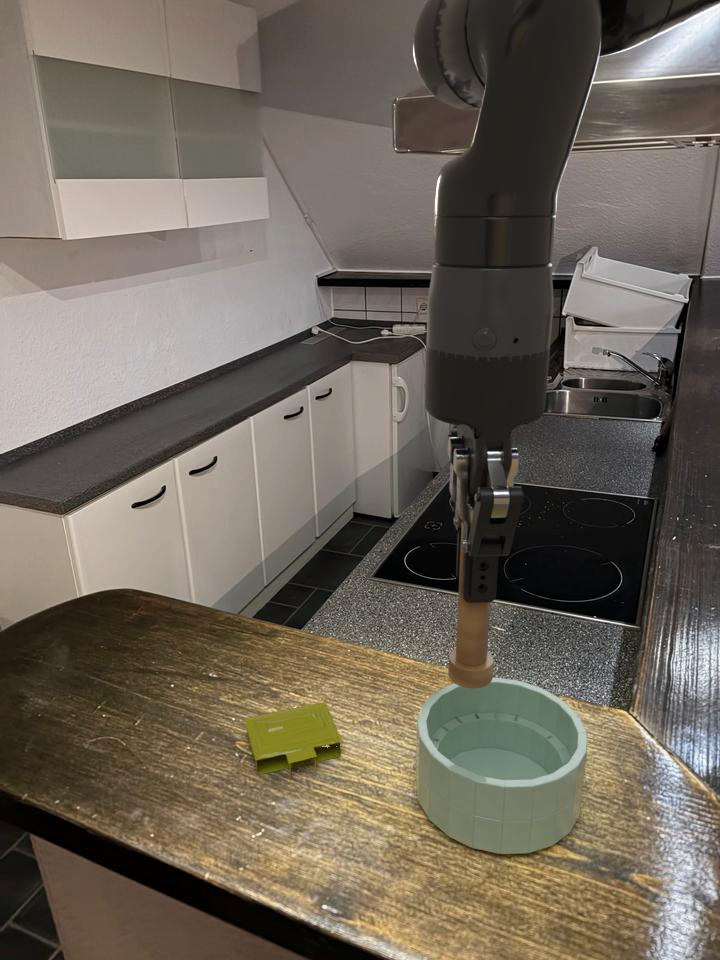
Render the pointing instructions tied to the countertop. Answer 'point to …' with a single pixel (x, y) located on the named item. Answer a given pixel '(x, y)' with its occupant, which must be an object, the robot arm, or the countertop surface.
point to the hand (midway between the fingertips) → (475, 588)
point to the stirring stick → (471, 641)
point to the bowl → (500, 765)
